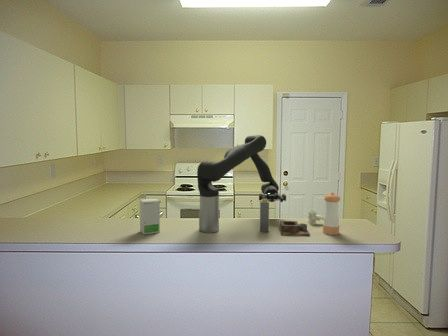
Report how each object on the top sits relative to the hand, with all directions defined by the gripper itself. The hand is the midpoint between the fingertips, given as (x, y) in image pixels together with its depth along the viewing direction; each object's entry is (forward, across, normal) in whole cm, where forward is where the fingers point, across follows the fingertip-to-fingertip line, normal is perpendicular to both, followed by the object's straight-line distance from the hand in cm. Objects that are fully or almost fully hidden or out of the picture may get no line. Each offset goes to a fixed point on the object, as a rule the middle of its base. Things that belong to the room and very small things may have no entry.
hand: (273, 200), depth 162 cm
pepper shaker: (+11, +27, +13) cm, 32 cm away
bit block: (+11, +9, +13) cm, 19 cm away
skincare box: (+18, -59, +12) cm, 63 cm away
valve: (-3, +24, +13) cm, 28 cm away
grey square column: (+11, -5, +13) cm, 17 cm away
